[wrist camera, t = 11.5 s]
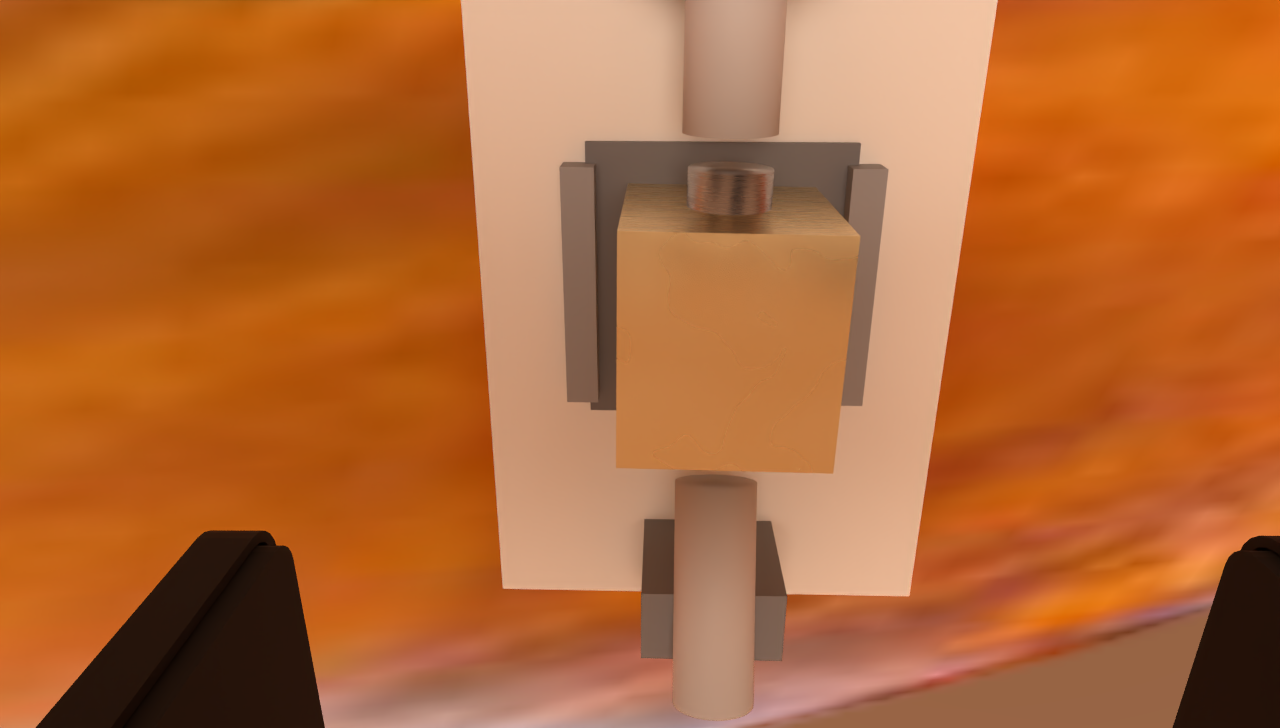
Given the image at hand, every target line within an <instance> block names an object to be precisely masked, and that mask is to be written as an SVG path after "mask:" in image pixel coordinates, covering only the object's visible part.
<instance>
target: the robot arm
mask: <svg viewBox="0 0 1280 728" xmlns="http://www.w3.org/2000/svg"><path fill="white" fill-rule="evenodd" d="M36 728H325V726H324V721H323V716H322V710H321V705H320V700H319V694H318V689H317V684H316V678H315V673H314V668H313V662H312V657H311V651H310V646H309V641H308V635H307V630H306V625H305V619H304V614H303V609H302V603H301V598H300V593H299V587H298V582H297V576H296V571H295V566H294V560H293V557H292V553H291V551H290V550H289V548H288V547H286V546H276V544H275V540H274V539H273V537H272V536H271V534H270V533H268V532H266V531H207V532H204V533H203V534H202V535H200V536H199V537H198V538H197V539H196V540H195V542H194V543H193V544H192V545H191V546H190V547H189V549H188V550H187V551H186V552H185V553H184V554H183V556H182V557H181V558H180V559H179V560H178V561H177V563H176V564H175V565H174V566H173V567H172V568H171V570H170V571H169V572H168V573H167V574H166V576H165V577H164V578H163V579H162V580H161V581H160V583H159V584H158V585H157V586H156V587H155V588H154V590H153V591H152V592H151V593H150V594H149V595H148V597H147V598H146V599H145V600H144V601H143V602H142V604H141V605H140V606H139V607H138V608H137V610H136V611H135V612H134V613H133V614H132V615H131V617H130V618H129V619H128V620H127V621H126V622H125V624H124V625H123V626H122V627H121V628H120V629H119V631H118V632H117V633H116V634H115V635H114V636H113V638H112V639H111V640H110V641H109V642H108V644H107V645H106V646H105V647H104V648H103V649H102V651H101V652H100V653H99V654H98V655H97V656H96V658H95V659H94V660H93V661H92V662H91V663H90V665H89V666H88V667H87V668H86V669H85V670H84V672H83V673H82V674H81V675H80V676H79V678H78V679H77V680H76V681H75V682H74V683H73V685H72V686H71V687H70V688H69V689H68V690H67V692H66V693H65V694H64V695H63V696H62V697H61V699H60V700H59V701H58V702H57V703H56V704H55V706H54V707H53V708H52V709H51V710H50V712H49V713H48V714H47V715H46V716H45V717H44V719H43V720H42V721H41V722H40V723H39V724H38V726H37V727H36ZM1173 728H1280V536H1257V537H1254V538H1251V539H1249V540H1248V541H1247V542H1246V543H1245V544H1244V545H1243V547H1242V549H1241V551H1237V552H1234V553H1233V554H1232V555H1231V556H1230V557H1229V558H1228V560H1227V562H1226V564H1225V567H1224V570H1223V573H1222V576H1221V579H1220V582H1219V585H1218V589H1217V592H1216V595H1215V598H1214V601H1213V604H1212V607H1211V610H1210V613H1209V616H1208V619H1207V623H1206V626H1205V629H1204V632H1203V635H1202V638H1201V642H1200V644H1199V648H1198V651H1197V654H1196V657H1195V660H1194V663H1193V666H1192V669H1191V672H1190V675H1189V678H1188V681H1187V685H1186V688H1185V691H1184V694H1183V697H1182V700H1181V703H1180V706H1179V709H1178V713H1177V716H1176V719H1175V722H1174V725H1173Z"/></svg>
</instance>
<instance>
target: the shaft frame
mask: <svg viewBox="0 0 1280 728" xmlns="http://www.w3.org/2000/svg"><path fill="white" fill-rule="evenodd" d="M997 1H998V0H461V7H462V21H463V35H464V49H465V64H466V78H467V92H468V106H469V120H470V134H471V148H472V162H473V176H474V190H475V204H476V218H477V232H478V246H479V260H480V274H481V288H482V302H483V317H484V331H485V345H486V359H487V373H488V387H489V401H490V415H491V429H492V443H493V457H494V471H495V485H496V499H497V513H498V527H499V541H500V555H501V570H502V584H503V589H547V590H600V591H641V658H663V659H673V686H672V702H673V705H674V707H675V708H676V709H677V710H678V711H680V712H681V713H683V714H685V715H688V716H690V717H694V718H698V719H703V720H713V721H722V720H731V719H736V718H740V717H742V716H745V715H746V714H748V713H749V712H750V711H751V710H752V709H753V702H754V660H760V661H782V653H783V641H784V629H785V617H786V604H787V594H814V595H867V596H909V594H910V588H911V581H912V574H913V567H914V561H915V554H916V547H917V540H918V534H919V527H920V520H921V513H922V507H923V500H924V493H925V487H926V480H927V473H928V466H929V460H930V453H931V446H932V439H933V433H934V426H935V419H936V412H937V406H938V399H939V392H940V385H941V379H942V372H943V365H944V358H945V352H946V345H947V338H948V332H949V325H950V318H951V311H952V305H953V298H954V291H955V284H956V278H957V271H958V264H959V257H960V251H961V244H962V237H963V230H964V224H965V217H966V210H967V203H968V197H969V190H970V183H971V176H972V170H973V163H974V156H975V150H976V143H977V136H978V129H979V123H980V116H981V109H982V102H983V96H984V89H985V82H986V75H987V69H988V62H989V55H990V48H991V42H992V35H993V28H994V21H995V15H996V8H997ZM702 162H746V163H755V164H761V165H766V166H769V167H772V168H774V183H773V186H786V187H816V188H817V189H818V190H819V191H820V192H821V194H822V195H823V196H824V197H825V198H826V199H827V200H828V201H829V202H830V203H831V204H832V206H833V207H834V208H835V209H836V210H837V211H838V212H839V213H840V214H841V215H842V216H843V218H844V219H845V220H846V221H847V222H848V223H849V224H850V225H851V226H852V227H853V229H854V230H855V231H856V232H857V233H858V234H859V235H860V245H859V254H858V262H857V271H856V280H855V288H854V297H853V306H852V314H851V323H850V332H849V341H848V349H847V358H846V367H845V375H844V384H843V393H842V402H841V410H840V419H839V428H838V436H837V445H836V454H835V463H834V471H833V474H824V473H786V472H748V471H709V470H671V469H633V468H616V360H617V229H618V225H619V220H620V216H621V212H622V207H623V203H624V198H625V194H626V190H627V185H628V183H633V184H684V185H687V179H688V166H689V165H692V164H696V163H702Z"/></svg>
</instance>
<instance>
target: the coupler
mask: <svg viewBox="0 0 1280 728" xmlns="http://www.w3.org/2000/svg"><path fill="white" fill-rule="evenodd" d="M773 183H774V168H772V167H769V166H766V165H761V164H755V163H746V162H702V163H696V164H692V165H689V166H688V179H687V185H684V184H633V183H628V185H627V190H626V194H625V198H624V203H623V207H622V212H621V216H620V220H619V225H618V229H617V360H616V468H633V469H671V470H709V471H748V472H786V473H824V474H833V471H834V463H835V454H836V445H837V436H838V428H839V419H840V410H841V402H842V393H843V384H844V375H845V367H846V358H847V349H848V341H849V332H850V323H851V314H852V306H853V297H854V288H855V280H856V271H857V262H858V254H859V245H860V235H859V234H858V233H857V232H856V231H855V230H854V229H853V227H852V226H851V225H850V224H849V223H848V222H847V221H846V220H845V219H844V218H843V216H842V215H841V214H840V213H839V212H838V211H837V210H836V209H835V208H834V207H833V206H832V204H831V203H830V202H829V201H828V200H827V199H826V198H825V197H824V196H823V195H822V194H821V192H820V191H819V190H818V189H817V188H816V187H786V186H773Z"/></svg>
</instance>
